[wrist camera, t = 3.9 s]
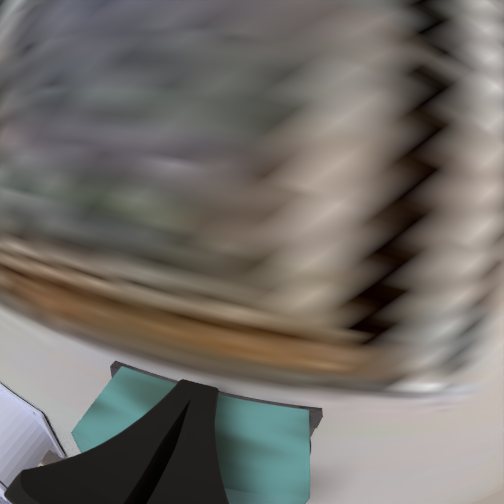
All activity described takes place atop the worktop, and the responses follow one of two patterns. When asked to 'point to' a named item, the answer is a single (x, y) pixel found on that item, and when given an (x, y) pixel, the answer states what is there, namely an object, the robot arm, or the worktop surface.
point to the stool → (218, 438)
